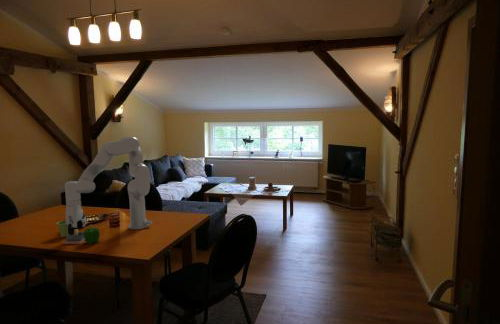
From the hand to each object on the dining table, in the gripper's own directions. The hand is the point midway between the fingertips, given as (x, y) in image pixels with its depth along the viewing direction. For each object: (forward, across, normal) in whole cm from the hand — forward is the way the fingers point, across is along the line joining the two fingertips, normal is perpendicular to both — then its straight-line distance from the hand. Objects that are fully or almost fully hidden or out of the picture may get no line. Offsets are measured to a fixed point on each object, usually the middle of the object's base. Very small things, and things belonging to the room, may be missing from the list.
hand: (75, 231), depth 191 cm
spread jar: (+6, -25, -13) cm, 29 cm away
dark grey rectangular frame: (+5, 0, 0) cm, 5 cm away
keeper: (+6, 0, 0) cm, 6 cm away
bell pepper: (+6, +3, +11) cm, 13 cm away
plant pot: (+6, -9, -11) cm, 15 cm away
